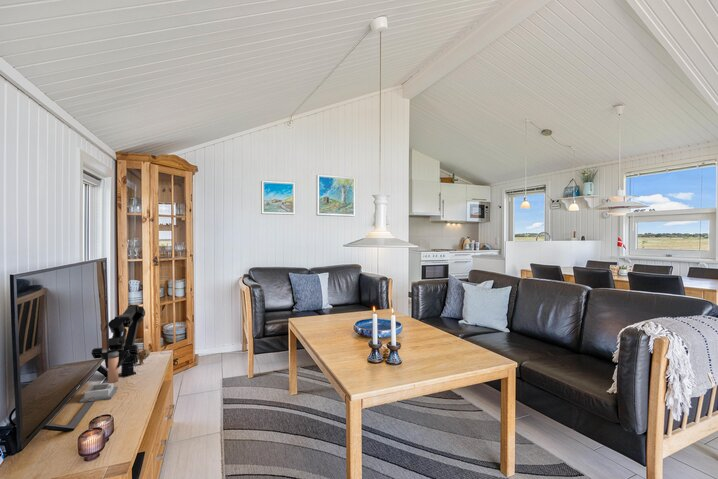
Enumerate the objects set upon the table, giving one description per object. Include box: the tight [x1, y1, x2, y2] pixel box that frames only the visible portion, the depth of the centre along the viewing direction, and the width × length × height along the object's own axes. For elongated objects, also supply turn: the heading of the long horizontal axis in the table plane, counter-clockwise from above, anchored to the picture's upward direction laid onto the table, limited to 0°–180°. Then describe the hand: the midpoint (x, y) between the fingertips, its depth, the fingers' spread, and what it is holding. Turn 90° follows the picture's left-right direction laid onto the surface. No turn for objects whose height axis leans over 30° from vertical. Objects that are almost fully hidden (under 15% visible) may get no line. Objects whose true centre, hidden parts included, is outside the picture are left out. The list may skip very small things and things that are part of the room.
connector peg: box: [107, 351, 119, 384], centre depth 170 cm, size 4×4×14 cm
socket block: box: [79, 382, 119, 404], centre depth 169 cm, size 12×12×4 cm
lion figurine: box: [137, 348, 151, 366], centre depth 209 cm, size 15×5×9 cm, turn 95°
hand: (112, 368), depth 168 cm, fingers closed on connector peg, 4 cm apart
